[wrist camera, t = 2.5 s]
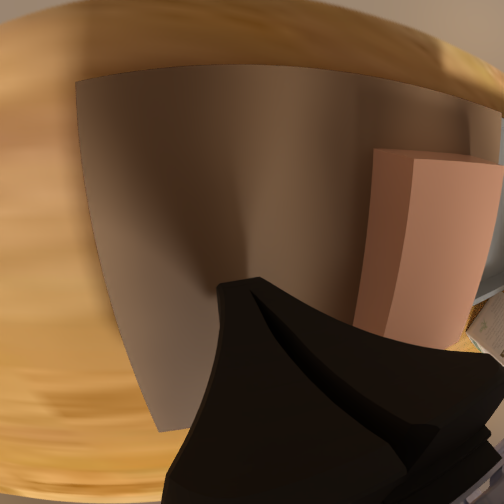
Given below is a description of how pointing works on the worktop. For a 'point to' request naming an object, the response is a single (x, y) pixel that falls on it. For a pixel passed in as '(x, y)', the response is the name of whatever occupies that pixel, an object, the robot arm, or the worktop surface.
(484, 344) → the syrup box
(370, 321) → the tile
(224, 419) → the robot arm
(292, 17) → the worktop surface
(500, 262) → the tray
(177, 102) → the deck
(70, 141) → the worktop surface
